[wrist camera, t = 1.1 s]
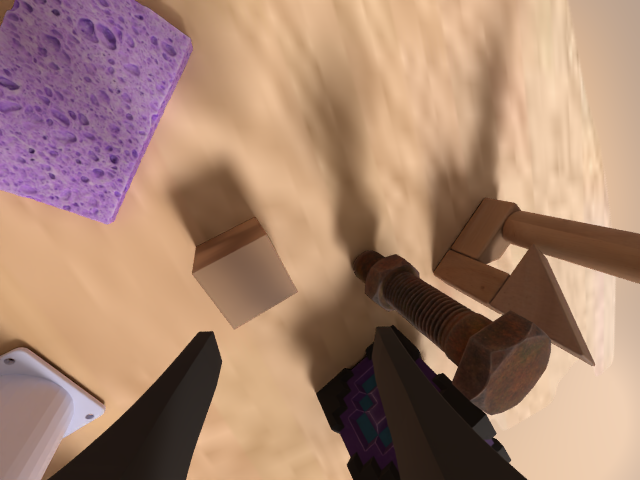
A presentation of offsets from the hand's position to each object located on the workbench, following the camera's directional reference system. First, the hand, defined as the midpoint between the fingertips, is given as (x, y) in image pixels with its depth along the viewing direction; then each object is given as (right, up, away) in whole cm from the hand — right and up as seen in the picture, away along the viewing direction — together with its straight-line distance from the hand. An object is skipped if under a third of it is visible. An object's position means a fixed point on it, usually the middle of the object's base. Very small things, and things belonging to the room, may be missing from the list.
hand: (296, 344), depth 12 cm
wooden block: (+19, +5, +20) cm, 27 cm away
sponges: (-13, +13, +4) cm, 19 cm away
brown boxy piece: (-5, +3, +10) cm, 12 cm away
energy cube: (+8, -13, +22) cm, 27 cm away
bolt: (+6, +2, +15) cm, 16 cm away
